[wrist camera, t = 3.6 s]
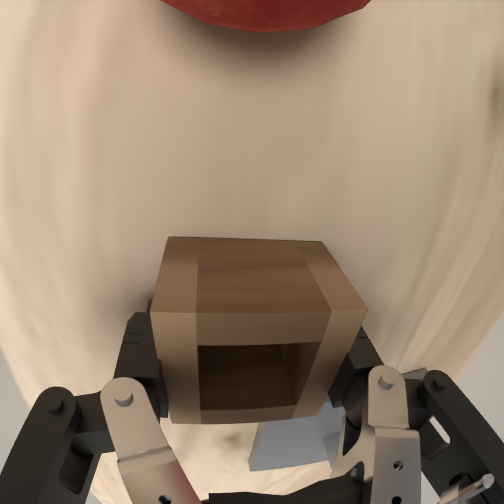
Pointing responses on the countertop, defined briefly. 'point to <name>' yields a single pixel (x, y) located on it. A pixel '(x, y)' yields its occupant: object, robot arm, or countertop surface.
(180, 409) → the ring
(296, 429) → the post stand
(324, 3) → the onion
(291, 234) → the countertop surface
